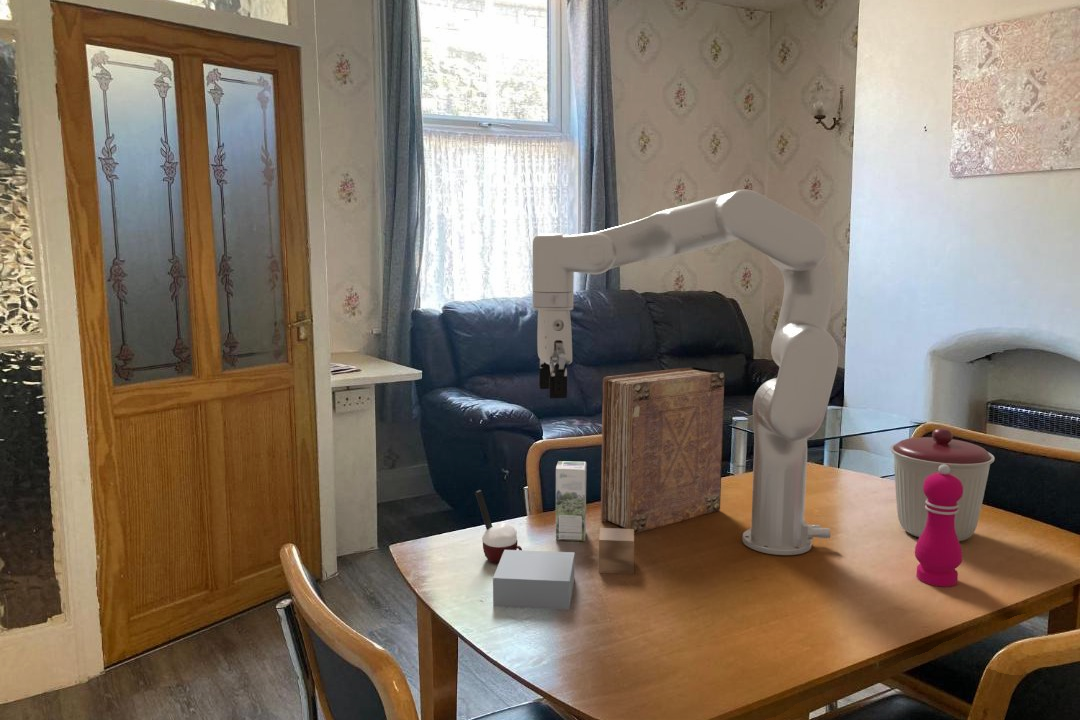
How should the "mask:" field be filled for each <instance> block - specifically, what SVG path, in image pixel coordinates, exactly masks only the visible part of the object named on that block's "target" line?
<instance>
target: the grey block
mask: <svg viewBox="0 0 1080 720" xmlns="http://www.w3.org/2000/svg"><path fill="white" fill-rule="evenodd" d="M575 563H576V562H575V552H574V551H573V552H572V551H547V550H546V551H545V550H523V549H522V550H519V549H517V550H504V552H503V555H502V557H501V559H500V562H499V564H497V567H496V569H495V572H494V574H493V577H492V595H493V596H492V601H493V602H492V604H493V605H492V606H493V607H499V608H502V607H503V608H518V609H519V608H522V609H526V608H527V609H545V610H565V611H566V610H568V611H570V610H571V609H570V608H571V603H572V596H573V589H574V583H575V570H576V569H575V568H576V567H575Z"/></svg>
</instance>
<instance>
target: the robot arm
mask: <svg viewBox="0 0 1080 720" xmlns="http://www.w3.org/2000/svg"><path fill="white" fill-rule="evenodd" d="M737 240H738V241H741V242H742V243H744V244H745V245H747V246H749V247H751V248H753V249H754V250H756V251H758V252H760V253H761V254H764V255H766V256H767V258H768V260H769V261H770V262H771V263H772V264H773V265H774V266H776V267H777V268H778V269H779V271H780V272H781V275H782V278H783V283H784V286H783V287H784V290H783V296H782V304H781V307H780V311H779V315H778V320H777V324H776V328H775V332H774V335H773V338H772V342H771V346H770V352H771V357H772V360H773V362H774V363H775V364H776V365H777V366H778V368H779V369H778V373H777V377H775V378H772V379H769V380H767V381H764V382H763V383H762V384H761V385H760V387H758V389H757V390H756V392H755V394H754V398H753V401H752V403H753V404H752V417H753V418H752V419H753V422H752V423H753V433H754V434H753V436H754V437H753V439H754V441H753V443H754V444H753V470H752V471H753V472H752V495H751V496H752V498H751V521H750V522H751V528H748V529H747V530H745V531H744V532H743V533H742V543H743V544H744V545H745V546H746V547H748V548H749V549H752V550H753V551H757V552H760V553H765V554H768V555H774V556H796V555H802V554H805V553H807V552H809V551H810V550H812V542H813V539H814V538H819V539H829V540H830V538H831V529H830V528H829V527H821V525H820V524H808V523H807V522H806V521H805V511H806V510H805V508H806V504H805V503H806V489H807V488H806V486H807V467H808V439H809V438H811V437H812V436H814V435H815V434H816V433H817V431H818V430H819V429H820V428H821V426H822V423H824V422H823V421H824V419H825V416H826V412H827V409H828V405H829V402H830V398H831V394H832V389H833V387H834V382H835V378H836V374H837V371H838V365H839V349H838V345H837V342H836V340H835V339H834V337H833V336H832V335H831V334H830V333H829V332H828V331H827V330H828V325H829V318H830V314H831V309H832V304H833V299H834V291H835V290H834V289H835V286H834V283H835V281H834V276H833V275H834V274H833V271H832V269H831V265H830V263H829V261H828V258H827V254H828V250H829V241H828V238H827V235H826V233H825V231H824V229H822V227H820V226H819V225H818V224H817V223H815V222H813V221H812V220H810V219H809V218H807V217H805V216H803V215H800V214H799V213H797V212H795V211H794V210H791V209H789V208H788V207H785V206H783V205H781V204H780V203H777V202H776V201H774V200H773V199H770V198H768V197H767V196H765V195H763V194H761V193H759V192H757V191H755V190H751V189H738V190H735V191H731V192H728V193H724V194H721V195H715V196H712V197H708V198H706V199H702V200H698V201H694V202H691V203H687V204H684V205H678V206H675V207H671V208H667V209H664V210H661V211H658V212H655V213H652V214H651V215H649V216H647V217H643V218H642V219H639V220H635V221H631V222H629V223H625V224H622V225H618V226H614V227H610V228H607V229H604V230H603V229H602V230H599V231H594V232H587V233H579V234H571V235H569V234H567V233H566V234H565V233H540V234H537V235H535V236H534V237H533V240H532V310H533V311H537V331H536V332H537V335H536V336H537V338H536V340H537V344H536V345H537V356H538V358H539V369H538V371H539V372H538V373H539V374H538V375H539V376H538V388H539V389H540V390H548V397H549V399H566V398H567V397H568V370H567V365H570V364H571V363H572V362H573V343H572V342H573V341H572V339H573V338H572V336H573V335H572V322H571V313H570V312H571V311H572V310H574V283H575V282H574V273H580V274H586V275H587V274H589V275H601V274H603V273H606V272H608V271H609V270H611V269H616V268H618V267H622V266H625V265H630V264H633V263H638V262H643V261H647V260H653V259H667V258H672V257H677V256H681V255H685V254H688V253H692V252H697V251H700V250H704V249H708V248H712V247H716V246H719V245H723V244H727V243H731V242H735V241H737Z"/></svg>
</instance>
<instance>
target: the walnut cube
mask: <svg viewBox="0 0 1080 720" xmlns="http://www.w3.org/2000/svg"><path fill="white" fill-rule="evenodd" d="M634 561H635V533H634V529H626V528H614V527H613V528H611V527H600V528H599V537H598V573H601V574H605V573H606V574H620V575H621V574H623V575H624V574H625V575H627V574H628V575H634V572H635V571H634V569H635V568H634V567H635V564H634Z"/></svg>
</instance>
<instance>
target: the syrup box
mask: <svg viewBox="0 0 1080 720" xmlns="http://www.w3.org/2000/svg"><path fill="white" fill-rule="evenodd" d="M587 470H588V469H587V462H586V461H568V460H567V461H565V460H564V461H562V460H560V461H559V460H558V461H557V464H556V466H555V541H569V542H585V541H586V533H587V520H586V518H587Z"/></svg>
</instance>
